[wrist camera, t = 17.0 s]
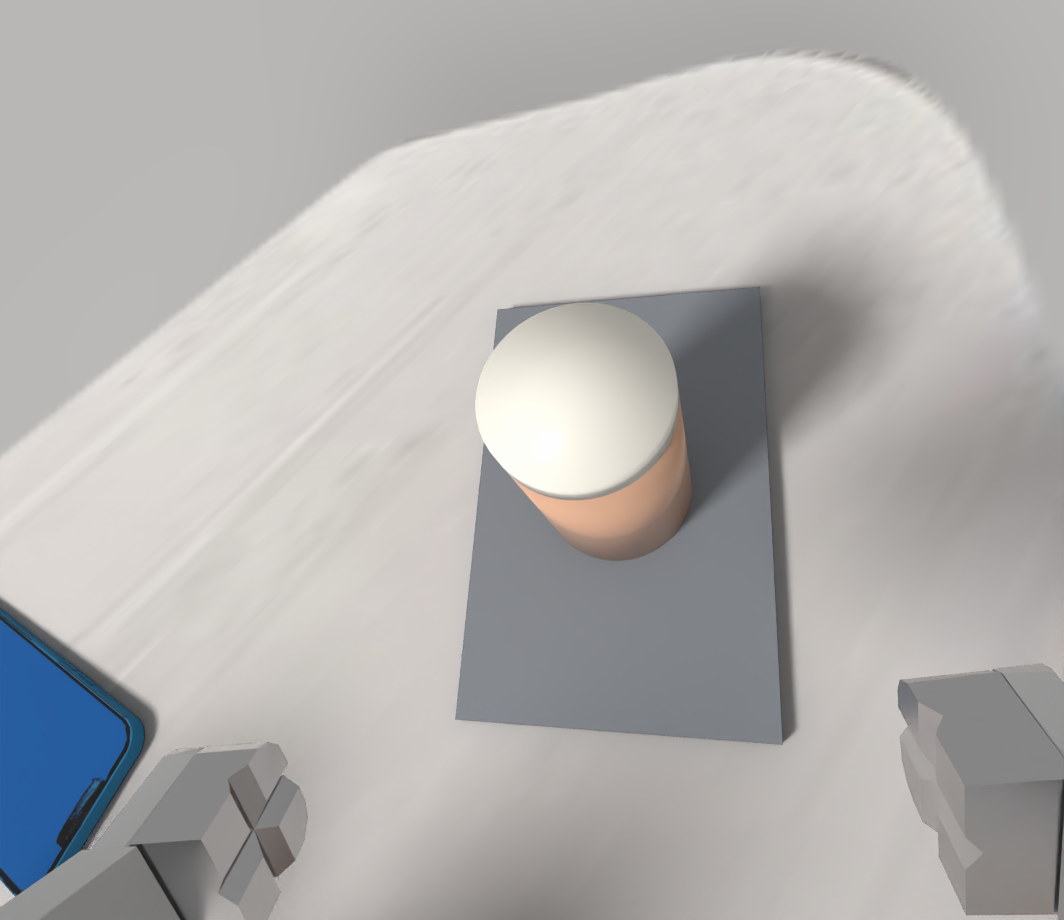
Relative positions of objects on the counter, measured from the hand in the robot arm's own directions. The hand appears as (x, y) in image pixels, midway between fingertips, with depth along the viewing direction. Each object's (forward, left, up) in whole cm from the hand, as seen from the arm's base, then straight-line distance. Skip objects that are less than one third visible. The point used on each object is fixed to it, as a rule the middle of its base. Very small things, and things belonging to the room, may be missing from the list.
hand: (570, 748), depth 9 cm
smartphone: (-1, +29, -17) cm, 33 cm away
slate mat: (+9, +2, -16) cm, 18 cm away
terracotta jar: (+9, +2, -15) cm, 18 cm away
